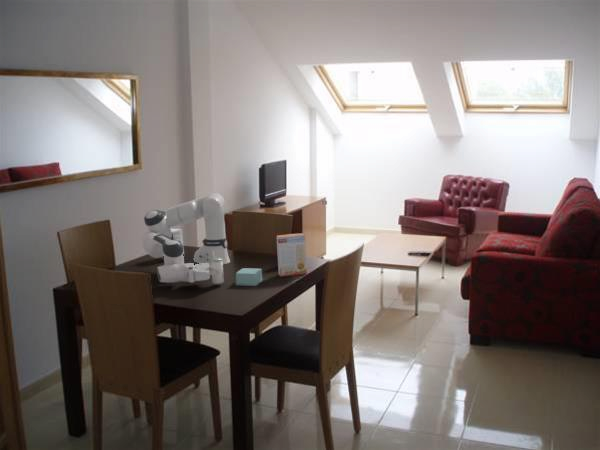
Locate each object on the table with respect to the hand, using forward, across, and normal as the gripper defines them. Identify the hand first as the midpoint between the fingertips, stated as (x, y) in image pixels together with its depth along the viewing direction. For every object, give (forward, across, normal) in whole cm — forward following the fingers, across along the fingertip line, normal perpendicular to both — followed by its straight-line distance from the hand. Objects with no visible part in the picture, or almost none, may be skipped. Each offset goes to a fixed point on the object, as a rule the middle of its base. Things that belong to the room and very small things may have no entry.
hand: (219, 269), depth 326 cm
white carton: (-26, -69, -8) cm, 74 cm away
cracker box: (+37, -11, -8) cm, 40 cm away
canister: (-1, 0, -6) cm, 6 cm away
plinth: (+14, -1, -8) cm, 16 cm away
